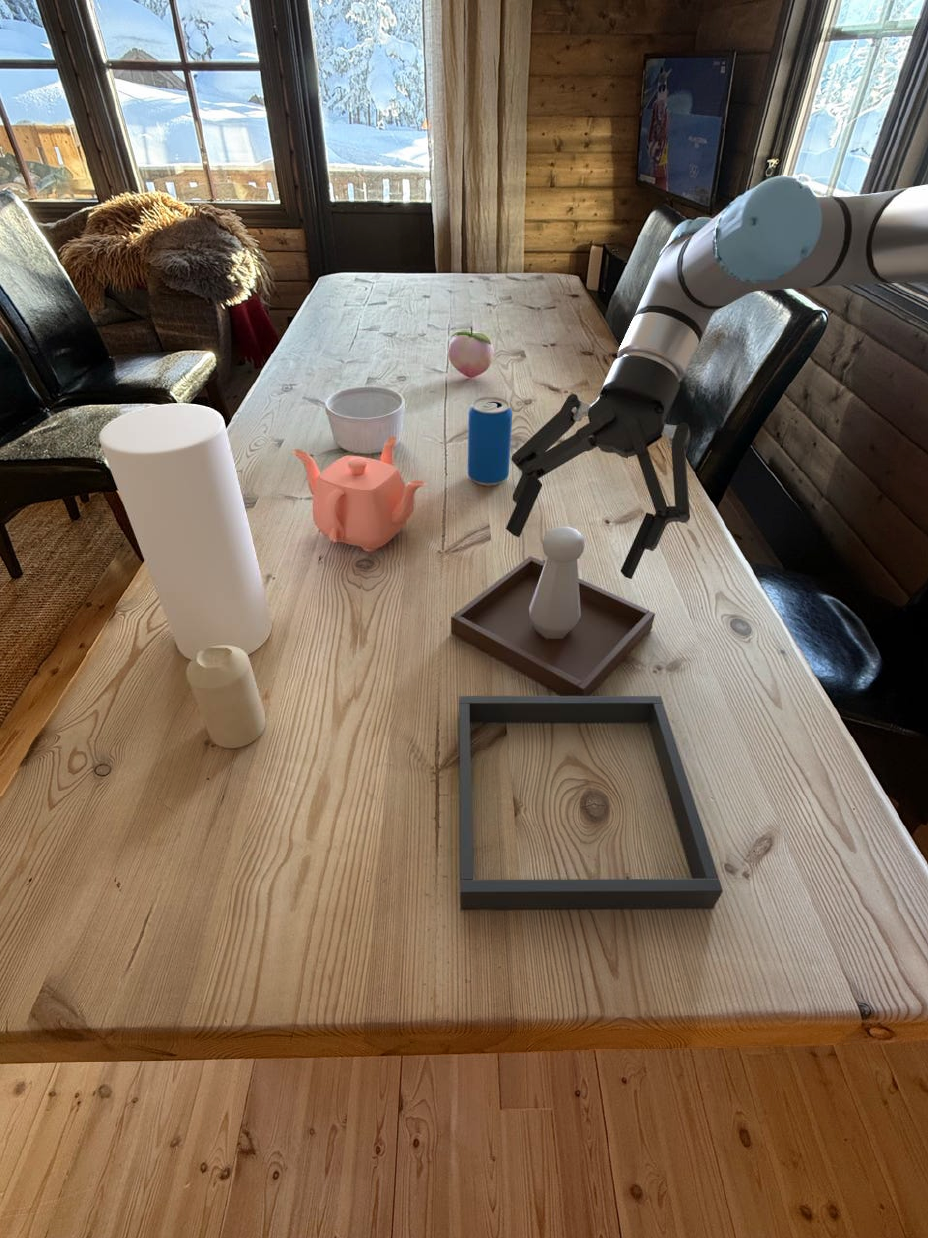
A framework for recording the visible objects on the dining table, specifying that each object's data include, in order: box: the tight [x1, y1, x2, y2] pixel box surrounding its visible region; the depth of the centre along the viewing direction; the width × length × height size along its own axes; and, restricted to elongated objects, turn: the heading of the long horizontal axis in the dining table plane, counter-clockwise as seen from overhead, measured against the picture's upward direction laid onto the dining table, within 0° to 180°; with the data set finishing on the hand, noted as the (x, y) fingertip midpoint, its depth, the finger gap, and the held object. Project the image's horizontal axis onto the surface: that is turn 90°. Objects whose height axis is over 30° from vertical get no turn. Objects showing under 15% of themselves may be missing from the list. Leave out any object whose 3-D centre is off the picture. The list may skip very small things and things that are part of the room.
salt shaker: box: [529, 525, 586, 639], centre depth 72 cm, size 6×6×13 cm
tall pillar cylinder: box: [98, 403, 273, 661], centre depth 68 cm, size 11×11×25 cm
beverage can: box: [467, 396, 513, 486], centre depth 100 cm, size 6×6×12 cm
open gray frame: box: [458, 695, 724, 911], centre depth 58 cm, size 20×20×3 cm
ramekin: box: [324, 385, 406, 455], centre depth 111 cm, size 13×13×7 cm
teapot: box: [293, 437, 427, 552], centre depth 88 cm, size 14×14×11 cm
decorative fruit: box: [447, 326, 494, 379], centre depth 133 cm, size 9×8×10 cm
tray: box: [450, 555, 656, 696], centre depth 76 cm, size 18×16×3 cm
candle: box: [185, 645, 267, 749], centre depth 62 cm, size 6×6×10 cm
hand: (566, 553), depth 70 cm, fingers open, 13 cm apart
